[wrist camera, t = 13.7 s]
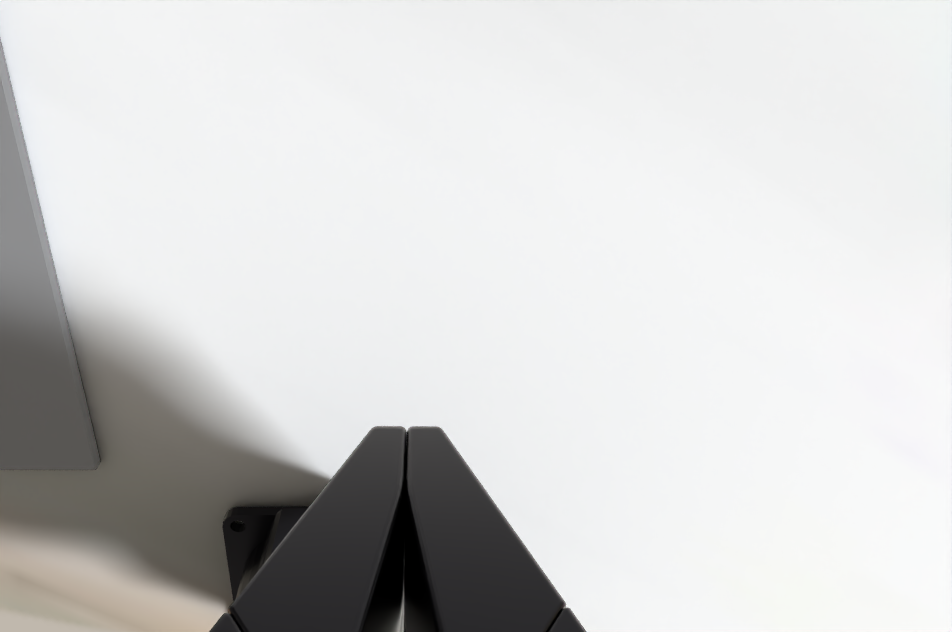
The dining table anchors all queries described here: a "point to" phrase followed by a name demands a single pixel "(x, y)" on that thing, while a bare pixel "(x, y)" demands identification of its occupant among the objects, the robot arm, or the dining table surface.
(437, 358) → the dining table surface
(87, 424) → the mat
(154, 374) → the dining table surface
